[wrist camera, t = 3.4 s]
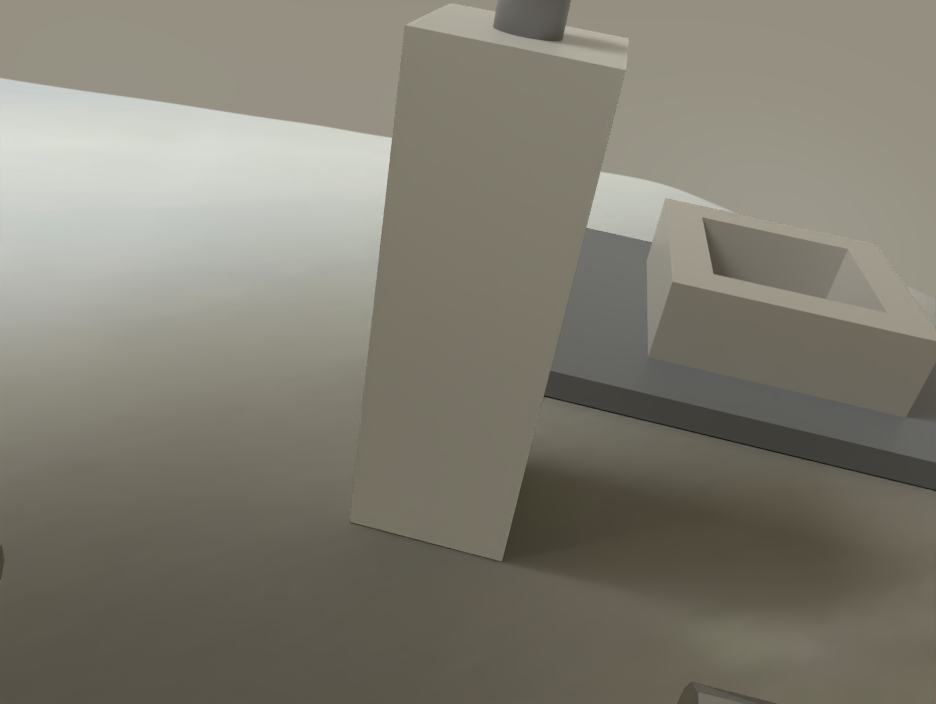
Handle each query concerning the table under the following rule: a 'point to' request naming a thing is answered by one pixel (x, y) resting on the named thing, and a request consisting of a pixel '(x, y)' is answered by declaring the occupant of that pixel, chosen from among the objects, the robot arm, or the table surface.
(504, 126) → the plug block
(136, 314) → the table surface
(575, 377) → the socket plate
